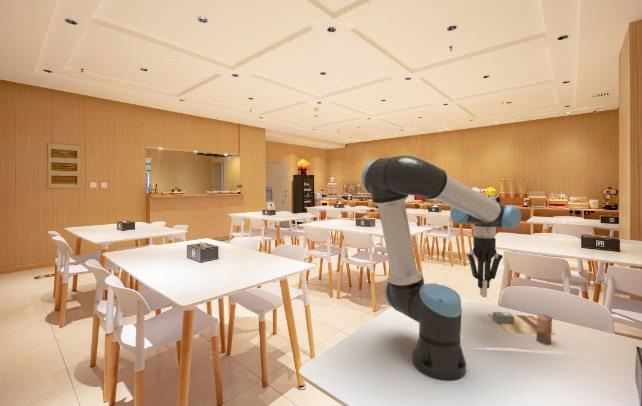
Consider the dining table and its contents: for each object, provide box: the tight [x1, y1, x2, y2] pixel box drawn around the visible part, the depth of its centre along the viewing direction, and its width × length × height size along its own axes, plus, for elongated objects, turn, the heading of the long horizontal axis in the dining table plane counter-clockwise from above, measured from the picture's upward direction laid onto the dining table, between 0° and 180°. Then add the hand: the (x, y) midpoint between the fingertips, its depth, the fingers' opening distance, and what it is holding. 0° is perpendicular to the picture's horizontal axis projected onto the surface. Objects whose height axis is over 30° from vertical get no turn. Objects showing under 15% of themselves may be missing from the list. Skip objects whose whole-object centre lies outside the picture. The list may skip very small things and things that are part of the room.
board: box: [487, 313, 560, 336], centre depth 118 cm, size 18×16×1 cm
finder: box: [492, 311, 514, 325], centre depth 119 cm, size 6×4×3 cm, turn 85°
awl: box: [535, 313, 553, 346], centre depth 104 cm, size 4×4×10 cm
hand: (483, 295), depth 120 cm, fingers closed
